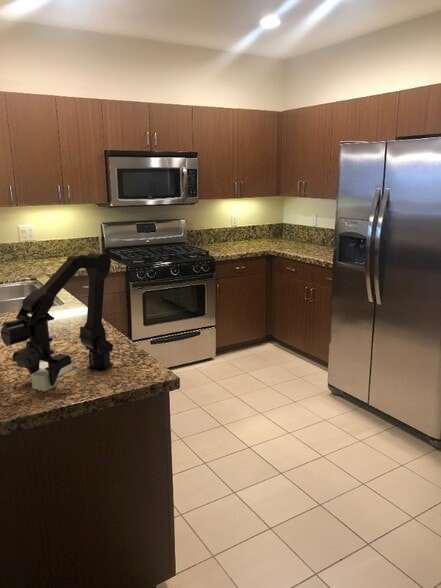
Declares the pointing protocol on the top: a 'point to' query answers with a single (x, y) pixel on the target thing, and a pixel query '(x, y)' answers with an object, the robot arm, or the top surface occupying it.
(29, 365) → the robot arm
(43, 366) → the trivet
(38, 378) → the cube
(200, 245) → the top surface
